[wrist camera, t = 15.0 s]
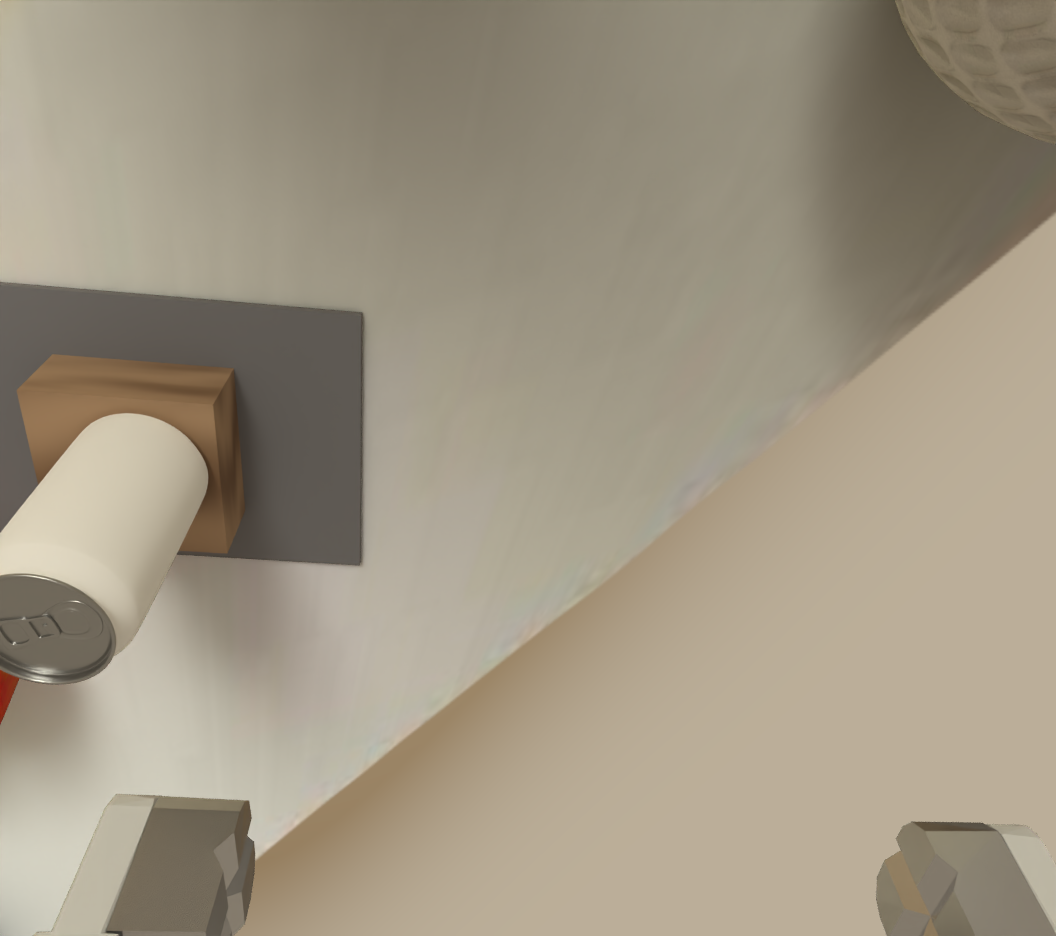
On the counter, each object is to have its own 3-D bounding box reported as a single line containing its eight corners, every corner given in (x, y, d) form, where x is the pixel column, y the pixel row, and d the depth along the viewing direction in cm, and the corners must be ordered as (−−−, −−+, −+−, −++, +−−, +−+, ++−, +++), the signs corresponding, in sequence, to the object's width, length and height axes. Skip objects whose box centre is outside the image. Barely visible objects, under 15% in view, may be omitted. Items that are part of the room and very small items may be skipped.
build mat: (-97, 273, 42) (-102, 276, 42) (361, 312, 44) (360, 315, 44) (-22, 538, 51) (-26, 542, 50) (360, 561, 53) (359, 565, 52)
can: (231, 504, 45) (155, 676, 35) (113, 529, 45) (4, 705, 35) (177, 396, 41) (76, 551, 31) (51, 423, 42) (-90, 584, 32)
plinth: (52, 354, 44) (16, 390, 41) (233, 368, 45) (212, 404, 42) (81, 499, 49) (51, 543, 46) (245, 510, 50) (227, 553, 46)
